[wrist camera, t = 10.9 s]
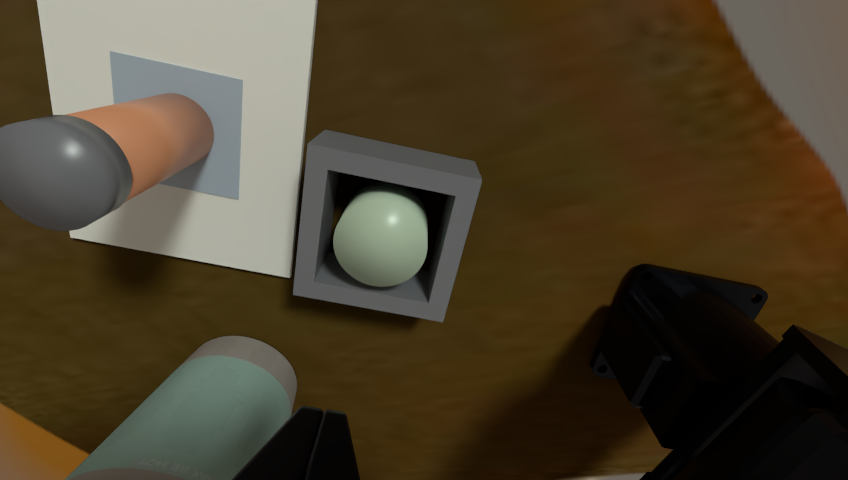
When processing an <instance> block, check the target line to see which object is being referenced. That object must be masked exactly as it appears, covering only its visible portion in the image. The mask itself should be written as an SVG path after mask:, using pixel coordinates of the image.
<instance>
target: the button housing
mask: <svg viewBox="0 0 848 480" xmlns="http://www.w3.org/2000/svg"><path fill="white" fill-rule="evenodd" d="M339 172H341V173H346V174H351V175H356V176H361V177H366V178H371V179H375V180H380V181H385V182H390V183H395V184H400V185H404V186H409V187H414V188H419V189H424V190H429V191H434V192H438V193H443V194H447V198H446V203H445V207H444V211H443V215H442V219H441V223H440V227H439V231H438V235H437V239H436V243H435V247H434V252H433V256H432V260H431V264H430V268H429V271H425V270H419V271H418V272H417V273H416V274H415V275H414V276H413V277H411V278H410V279H408V280H407V281H405V282H403V283H400V284H397V285H393V286H386V287H378V286H372V285H368V284H365V283H362V282H360V281H358V280H356V279H355V278H353V277H352V276H350V275H349V274H348V273H347V272H346V271H345V270H344V269H343V268H342V266H341V265H340V264H339V262H338V260H337V258H336V255H335V253H331V252H329V245H330V237H331V230H332V222H333V215H334V207H335V200H336V192H337V185H338V177H339ZM481 183H482V178H481V176H480V173H479V171H478V168H477V166H476V163H475V161H470V160H466V159H461V158H456V157H451V156H447V155H442V154H437V153H433V152H428V151H423V150H419V149H414V148H409V147H405V146H400V145H395V144H390V143H386V142H381V141H376V140H372V139H367V138H362V137H358V136H353V135H348V134H344V133H339V132H334V131H329V130H324V131H323V132H322V133H320V134H319V135H318V136H317V137H315V138H314V139H313V140H312V141H310V142H309V143H308V146H307V156H306V167H305V177H304V187H303V197H302V207H301V217H300V227H299V237H298V247H297V257H296V267H295V277H294V287H293V295H297V296H302V297H308V298H313V299H319V300H324V301H329V302H335V303H340V304H346V305H351V306H357V307H362V308H368V309H373V310H379V311H384V312H390V313H395V314H401V315H406V316H412V317H417V318H423V319H428V320H433V321H439V322H443V320H444V317H445V313H446V310H447V306H448V302H449V299H450V295H451V291H452V288H453V284H454V281H455V277H456V273H457V270H458V266H459V263H460V259H461V255H462V252H463V248H464V244H465V241H466V237H467V234H468V230H469V226H470V223H471V219H472V215H473V212H474V208H475V205H476V201H477V197H478V194H479V190H480V186H481Z"/></svg>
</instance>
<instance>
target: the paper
mask: <svg viewBox="0 0 848 480" xmlns="http://www.w3.org/2000/svg"><path fill="white" fill-rule="evenodd" d="M37 4H38V11H39V18H40V25H41V32H42V39H43V47H44V54H45V61H46V68H47V75H48V82H49V89H50V96H51V103H52V110H53V115H66V114H71V113H75V112H80V111H85V110H89V109H94V108H99V107H103V106H108V105H113V104H118V103H122V102H127V101H132V100H136V99H141V98H146V97H150V96H155V95H160V94H165V93H176V94H180V95H184V96H186V97H188V98H190V99H192V100H194V101H195V102H196V103H198V104H199V105H200V106H201V107H202V108H203V109H204V110H205V112H206V113H207V115H208V116H209V118H210V120H211V122H212V125H213V129H214V142H213V146H212V148H211V150H210V152H209V153H208V154H207V155H206V156H205V157H204V158H203V159H201V160H199V161H197V162H196V163H194V164H192V165H190V166H188V167H187V168H185V169H183V170H181V171H180V172H178V173H176V174H174V175H172V176H171V177H169V178H167V179H165V180H164V181H162V182H160V183H158V184H156V185H155V186H153V187H151V188H149V189H148V190H146V191H144V192H142V193H140V194H139V195H137V196H135V197H133V198H132V199H130V200H128V201H126V202H124V203H123V205H121V206H120V207H119V208H118V209H116V210H114V211H112V212H111V213H109V214H107V215H105V216H104V217H102V218H100V219H98V220H96V221H95V222H93V223H91V224H89V225H88V226H86V227H84V228H81V229H77V230H73V231H70V237H71V238H76V239H82V240H87V241H92V242H98V243H103V244H109V245H114V246H119V247H125V248H130V249H136V250H141V251H146V252H152V253H157V254H163V255H168V256H173V257H179V258H184V259H189V260H195V261H200V262H206V263H211V264H216V265H222V266H227V267H233V268H238V269H243V270H249V271H254V272H260V273H265V274H270V275H276V276H281V277H287V278H290V277H291V275H292V265H293V255H294V244H295V234H296V223H297V213H298V202H299V192H300V182H301V171H302V161H303V150H304V140H305V129H306V119H307V108H308V98H309V88H310V77H311V67H312V56H313V46H314V35H315V25H316V15H317V4H318V0H37Z"/></svg>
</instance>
